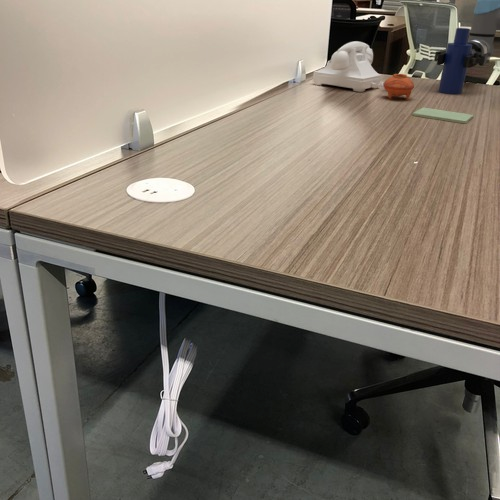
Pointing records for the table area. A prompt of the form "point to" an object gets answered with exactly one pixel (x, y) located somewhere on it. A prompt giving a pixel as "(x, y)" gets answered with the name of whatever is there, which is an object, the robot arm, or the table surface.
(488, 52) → the robot arm
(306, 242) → the table surface
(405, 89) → the pot
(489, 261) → the table surface
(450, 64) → the bottle
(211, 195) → the table surface
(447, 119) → the mat
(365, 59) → the telephone
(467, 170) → the table surface
